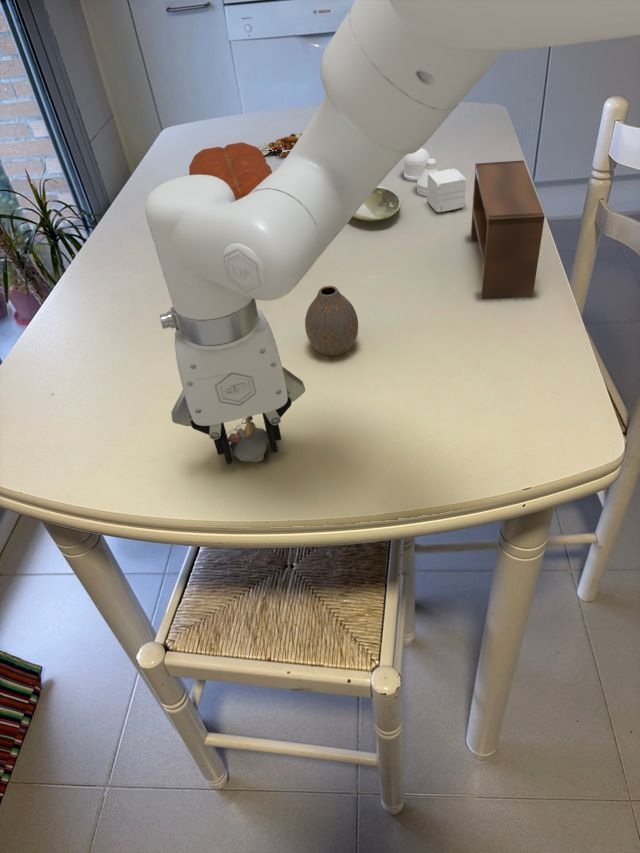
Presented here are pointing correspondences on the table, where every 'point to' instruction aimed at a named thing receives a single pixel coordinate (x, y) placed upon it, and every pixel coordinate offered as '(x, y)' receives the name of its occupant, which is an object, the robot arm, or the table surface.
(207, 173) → the bread
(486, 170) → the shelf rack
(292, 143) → the pastry
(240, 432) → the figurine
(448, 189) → the container set
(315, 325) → the vase
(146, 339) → the table surface
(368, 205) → the spoon
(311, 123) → the robot arm
